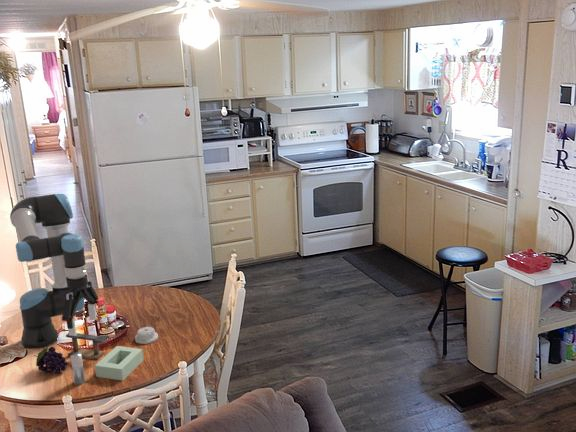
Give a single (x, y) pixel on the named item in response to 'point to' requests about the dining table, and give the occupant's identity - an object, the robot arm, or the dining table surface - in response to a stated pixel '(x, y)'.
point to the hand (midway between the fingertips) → (83, 327)
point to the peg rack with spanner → (86, 353)
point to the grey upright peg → (77, 368)
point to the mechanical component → (146, 335)
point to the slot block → (119, 363)
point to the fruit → (51, 360)
